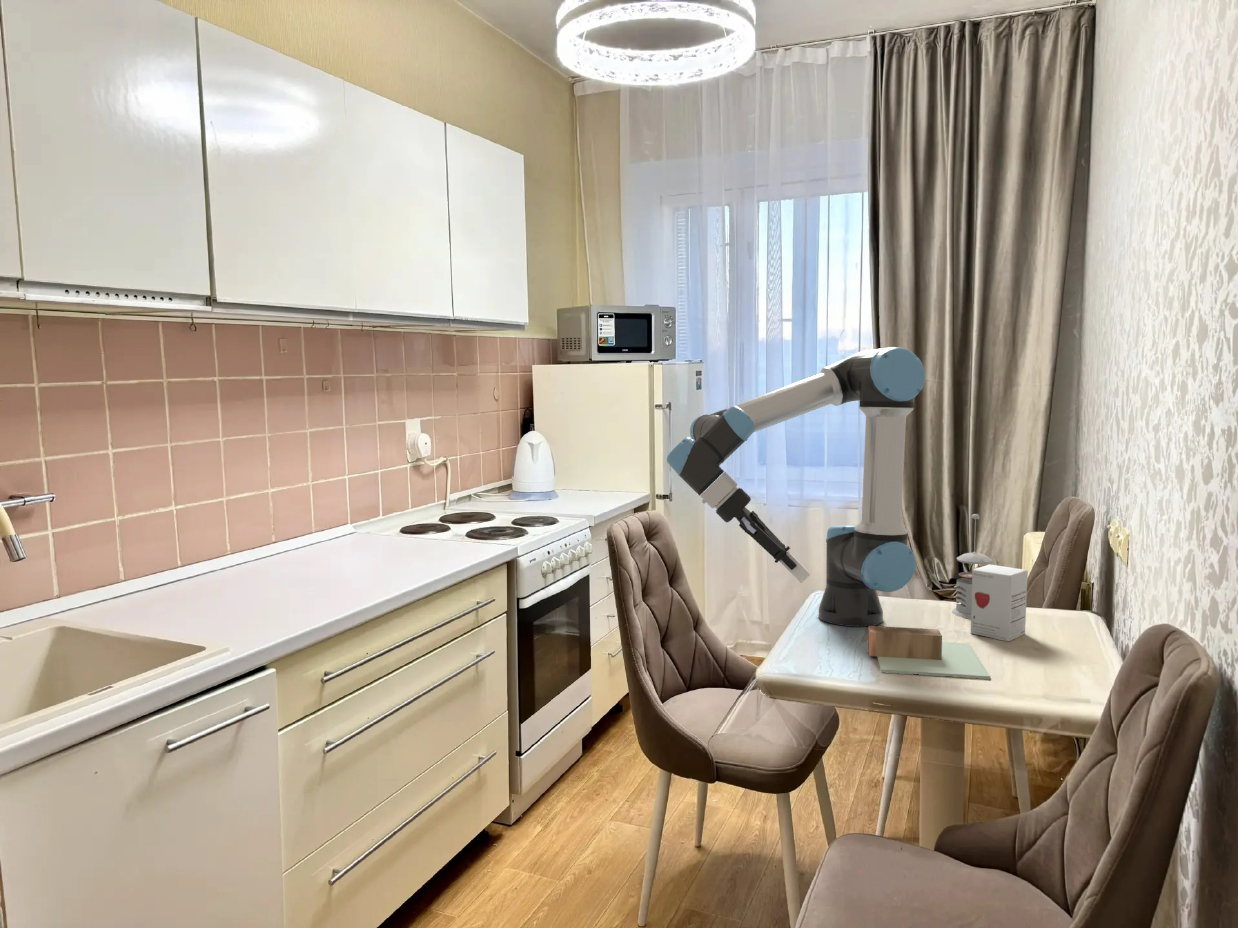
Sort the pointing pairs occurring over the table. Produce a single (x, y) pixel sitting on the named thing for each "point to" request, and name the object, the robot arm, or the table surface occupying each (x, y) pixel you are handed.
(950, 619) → the table surface
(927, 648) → the walnut block
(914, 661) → the mat
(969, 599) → the french press
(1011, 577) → the supplement box
